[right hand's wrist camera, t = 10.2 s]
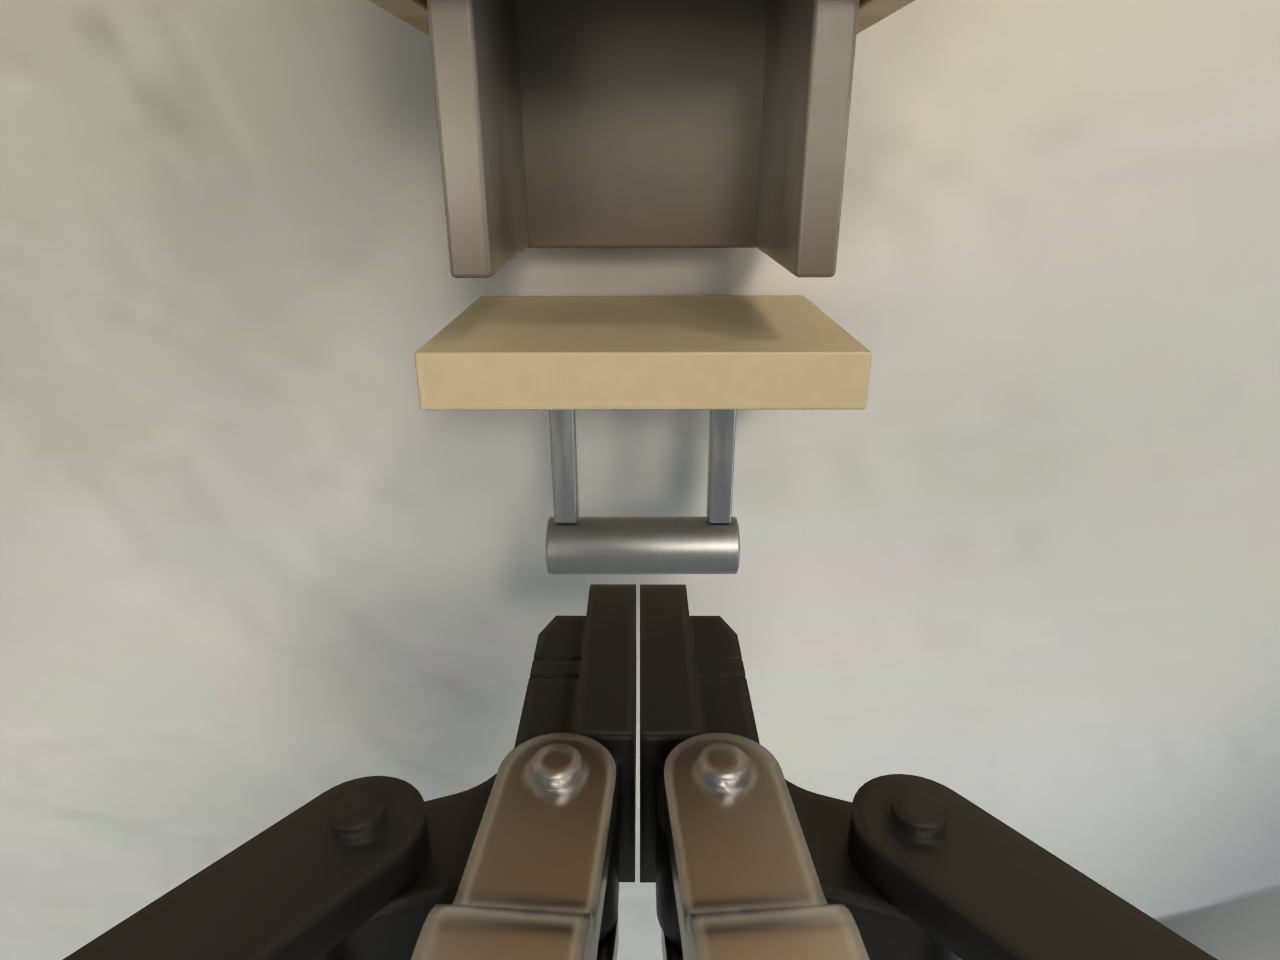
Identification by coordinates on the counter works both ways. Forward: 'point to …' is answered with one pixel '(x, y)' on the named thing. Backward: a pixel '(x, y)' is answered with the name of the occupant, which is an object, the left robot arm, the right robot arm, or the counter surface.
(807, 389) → the drawer
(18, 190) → the counter surface
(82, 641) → the counter surface
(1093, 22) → the counter surface
